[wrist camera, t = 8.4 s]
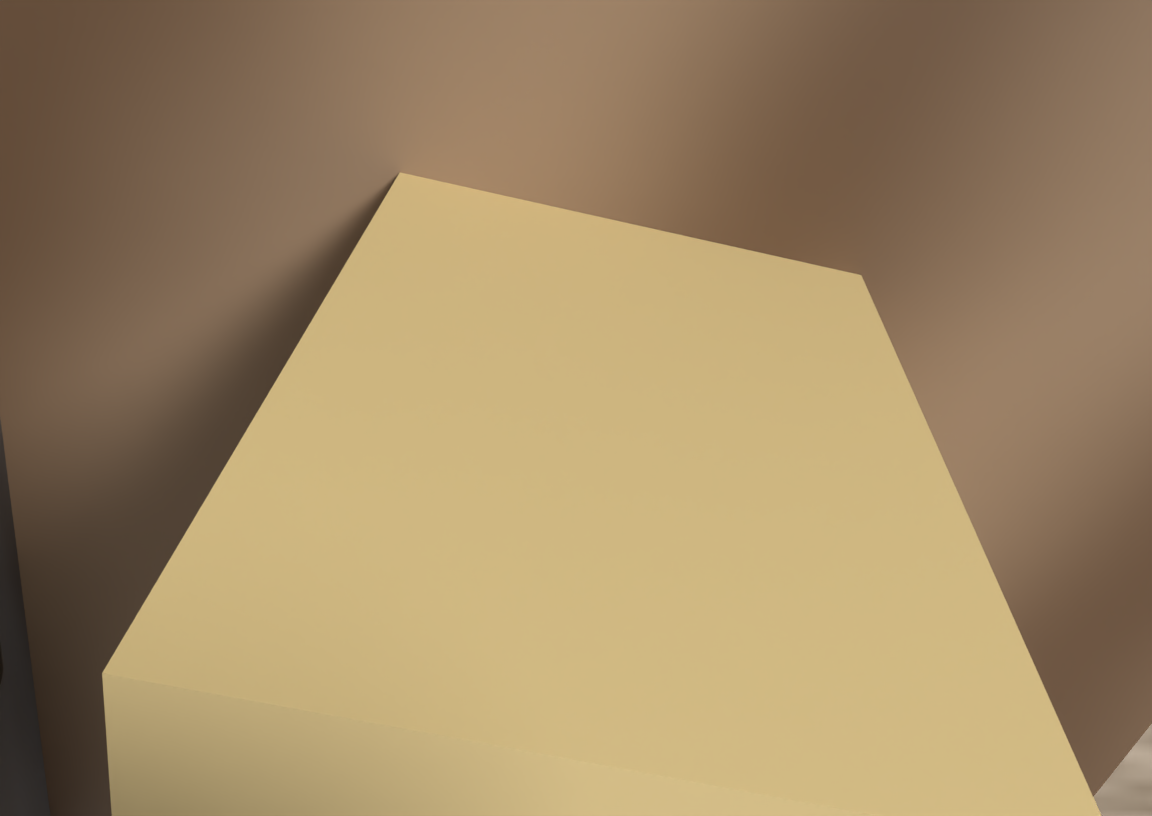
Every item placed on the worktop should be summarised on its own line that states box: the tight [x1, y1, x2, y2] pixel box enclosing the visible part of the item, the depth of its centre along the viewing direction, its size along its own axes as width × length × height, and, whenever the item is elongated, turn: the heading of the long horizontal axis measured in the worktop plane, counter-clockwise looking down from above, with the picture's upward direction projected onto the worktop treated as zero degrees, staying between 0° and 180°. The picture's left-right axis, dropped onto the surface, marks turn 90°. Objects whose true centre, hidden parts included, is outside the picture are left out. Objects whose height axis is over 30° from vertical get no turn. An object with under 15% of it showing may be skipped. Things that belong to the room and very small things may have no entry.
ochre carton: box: [102, 173, 1101, 816], centre depth 9 cm, size 5×7×6 cm, turn 168°
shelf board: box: [0, 0, 1152, 816], centre depth 11 cm, size 16×16×3 cm
